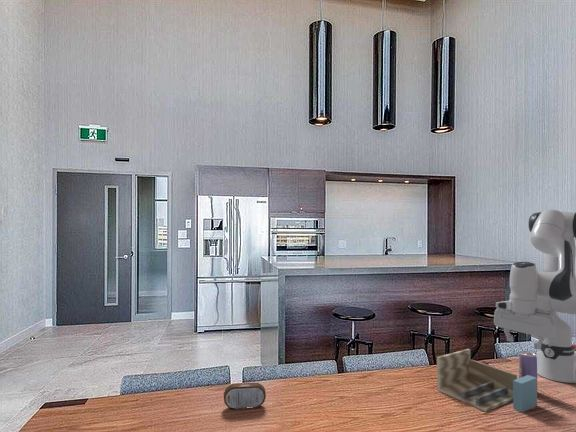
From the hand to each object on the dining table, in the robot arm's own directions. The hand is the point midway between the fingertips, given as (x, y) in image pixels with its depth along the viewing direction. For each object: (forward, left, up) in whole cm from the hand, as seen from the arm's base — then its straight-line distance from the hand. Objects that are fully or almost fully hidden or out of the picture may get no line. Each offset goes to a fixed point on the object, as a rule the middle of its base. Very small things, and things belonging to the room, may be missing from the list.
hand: (523, 344), depth 134 cm
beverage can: (-14, -6, -22) cm, 27 cm away
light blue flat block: (0, 0, -22) cm, 22 cm away
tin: (+88, -50, -22) cm, 104 cm away
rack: (+6, -15, -22) cm, 27 cm away
